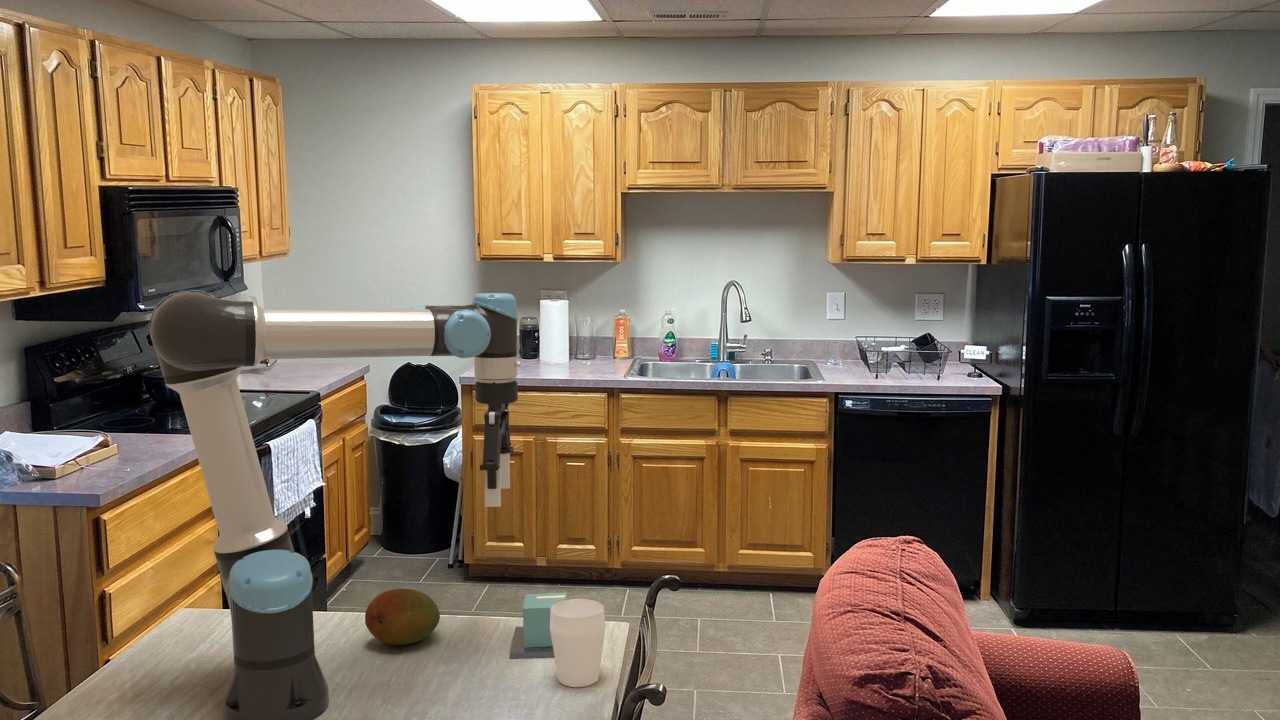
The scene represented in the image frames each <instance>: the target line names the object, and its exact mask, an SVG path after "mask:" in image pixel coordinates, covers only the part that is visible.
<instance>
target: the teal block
mask: <svg viewBox="0 0 1280 720" xmlns="http://www.w3.org/2000/svg"><path fill="white" fill-rule="evenodd" d="M567 592H568V591H567ZM567 592H547V593H546V592H545V593H543V592H542V593H527V594H526V593H525V596H524V601H523V604H522V605H523V606H522V625H523V626H522V627H523V630H524V648H528V647H549V646H553V645H552V639H551V633H550V609H551V607H552V606H553V605H554V604H556V603H558V602H561V601H564V600H568V593H567Z"/></svg>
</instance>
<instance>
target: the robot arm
mask: <svg viewBox="0 0 1280 720" xmlns="http://www.w3.org/2000/svg"><path fill="white" fill-rule="evenodd" d="M517 309H518V308H517V299H516V297H515V295H513V294H511V293H507V292H506V293H505V292H485V293H481V292H480V293H476V294H475V295H474V296H473V302H472V304H466V305H426V304H425V305H422V306H421V305H420V306H419V305H418V306H412V307H409V308H408V309H407V308H406V309H405V308H399V309H398V308H274V307H273V308H271V307H270V308H266V307H265V308H263V307H261V306H260V305H259V304H258V303H256V302H255V301H246V300H245V301H244V300H243V301H242V300H241V301H239V300H228V299H223V298H218V297H216V296H214V295H212V294H210V293H209V292H206V291H201V290H197V289H188V290H179V291H178V292H177V291H176V292H173V293H171V294H169V295H168V296H165V297H164V298H163V299H161V300H160V301H159V302H158V303H157V304H156V306H155V307H154V309H153V311H152V312H151V315H150V318H149V323H148V331H149V336H150V340H151V342H152V345H153V348H154V350H155V352H156V356H157V360H158V362H159V363H158V364H159V366H160V370H161V373H162V377H163V380H164V384H165V386H166V387H167V388H169V389H171V390H173V391H176V392H177V394H179V396H180V397H179V398H180V401H181V405H182V408H183V411H184V414H185V418H186V421H187V426H188V428H189V432H190V435H191V439H192V441H193V442H192V443H193V446H194V449H195V453H196V458H197V459H198V464H199V467H200V471H201V474H202V477H203V480H204V484H205V488H206V492H207V495H208V497H209V501H210V505H211V508H212V512H213V516H214V518H215V522H216V525H217V529H218V530H217V531H218V534H219V535H218V538H217V539H216V541H215V543H214V544H213V546H212V549H213V553H214V556H215V560H216V564H217V567H218V570H219V573H220V577H221V578H220V580H221V585H222V588H223V591H224V593H225V594H226V599H227V604H228V606H229V607H228V608H229V611H230V615H231V616H230V617H231V619H230V620H231V629H232V646H233V647H232V648H233V649H232V650H233V651H232V652H233V670H232V673H231V677H230V679H229V684H228V687H227V692H226V694H225V698H224V702H223V709H224V711H223V713H224V714H223V715H224V720H312V719H314V718H316V717H318V716H319V715H321V714H322V713H323V712H324V711H325V710H326V709H327V707H328V706H329V703H330V693H329V685H328V682H327V681H326V677H325V676H324V673H323V670H322V668H321V666H320V663H319V662H318V659H317V656H316V650H315V649H316V648H315V630H314V610H313V609H314V608H313V606H314V605H313V591H312V590H313V589H312V588H313V582H314V579H313V573H312V570H311V564H310V562H309V561H308V559H307V557H305V556H303V555H302V554H300V553H299V552H295V550H294V545H293V544H292V540H291V539H292V538H291V536H290V535H291V534H290V531H289V528H288V525H287V524H286V523H284V522H283V521H281V520H279V519H277V518H276V517H275V515H274V511H273V507H272V503H271V500H270V496H269V493H268V489H267V486H266V485H267V484H266V481H265V478H264V474H263V471H262V468H261V467H262V466H261V464H260V460H259V457H258V456H259V455H258V453H257V452H258V451H257V450H256V449H257V448H256V446H255V442H254V441H255V440H254V438H253V435H252V431H251V427H250V424H249V421H248V416H247V413H246V410H245V406H244V402H243V399H242V395H241V392H240V388H239V383H238V380H237V379H238V376H239V375H240V374H241V372H242V370H243V368H244V367H256V366H258V365H259V364H260V363H261V362H262V361H263V360H286V359H287V360H289V359H290V360H291V359H292V360H293V359H296V360H298V359H341V358H342V359H345V358H346V359H347V358H348V359H349V358H352V359H353V358H387V357H388V358H391V357H392V358H393V357H395V358H398V357H399V358H400V357H457V358H459V359H471V358H474V359H473V360H474V362H473V363H474V378H475V379H476V380H477V381H476V382H475V384H474V391H475V392H474V395H475V396H474V397H475V402H476V403H479V404H483V405H484V404H485V405H488V408H487V410H486V411H485V412H484V415H483V417H484V418H483V419H484V430H483V431H484V433H483V434H484V435H483V454H482V464H479V471H483V472H484V473H483V474H484V477H483V479H484V507H485V508H487V507H488V508H500V507H501V506H502V489H503V490H505V489H506V490H507V489H508V490H509V489H511V463H510V462H511V458H510V457H511V453H514V451H515V450H514V446H512V443H511V433H510V432H511V431H510V430H511V429H510V411H509V406H510V405H509V404H513V403H515V402H517V401H518V399H519V389H518V388H519V383H518V382H517V380H516V378H517V377H518V367H521V366H522V363H521V361H520V360H517V359H518V320H519V319H518V310H517Z"/></svg>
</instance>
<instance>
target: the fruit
mask: <svg viewBox="0 0 1280 720" xmlns="http://www.w3.org/2000/svg"><path fill="white" fill-rule="evenodd" d="M440 619H441V614H440V609H439V607H438V605H437V604H436V602H435V601H434V600H433V599H432V598H431V597H430V596H429V595H428V594H426V593H424V592H421V591H419V590H415V589H411V588H409V589H408V588H397V589H395V588H394V589H390V590H386V591H383V592H381V593H379V594H378V595H376V596H375V597H373V599H372V600H371V601H370V602H369V604H368V605H367V607H366V610H365V614H364V622H365V626H366V628H367V630H368V632H369V633H370V634H371V636H373V638H375V639H376V640H378V641H379V642H381V643H383V644H386V645H394V646H405V645H410V644H414V643H418V642H419V641H422V640H423V639H425V638H427V637H428V636H430V635H431V633H432V632H434V631H435V629H436V628H437V626H438V624H439V622H440Z"/></svg>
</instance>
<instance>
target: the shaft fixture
mask: <svg viewBox="0 0 1280 720" xmlns="http://www.w3.org/2000/svg"><path fill="white" fill-rule="evenodd" d="M541 658H542V659H549V658H554V659H555V657H554V651H553V646H549V647H528V648H524V630H523V626H515V627H514V631H513V636H512V641H511V645H510V649H509V659H512V660H513V659H541Z"/></svg>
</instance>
